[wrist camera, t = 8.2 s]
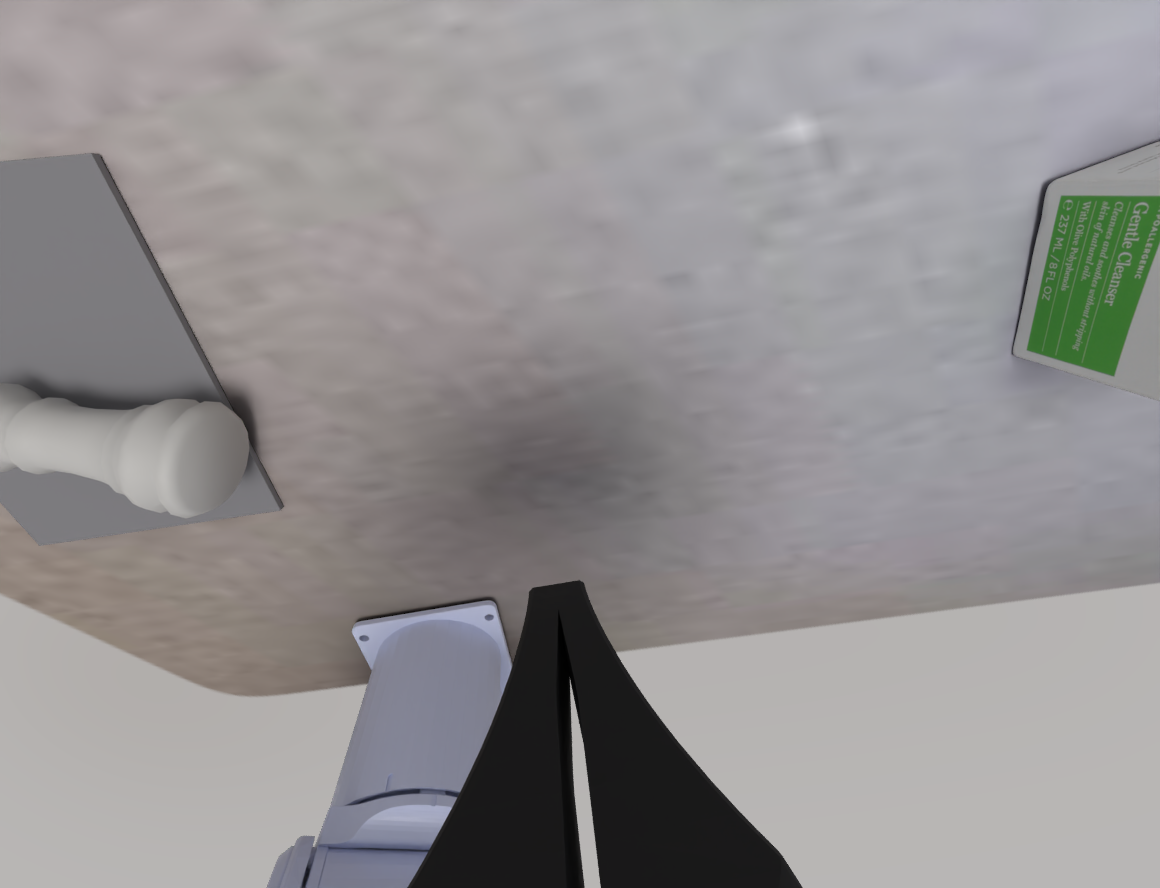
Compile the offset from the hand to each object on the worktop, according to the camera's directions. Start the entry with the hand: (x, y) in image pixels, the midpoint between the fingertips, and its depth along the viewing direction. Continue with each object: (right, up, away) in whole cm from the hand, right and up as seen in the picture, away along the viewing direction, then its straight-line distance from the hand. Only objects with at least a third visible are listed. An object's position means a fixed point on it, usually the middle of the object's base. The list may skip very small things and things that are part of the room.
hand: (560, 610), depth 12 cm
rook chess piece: (-13, +4, +5) cm, 14 cm away
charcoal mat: (-19, +7, +5) cm, 21 cm away
